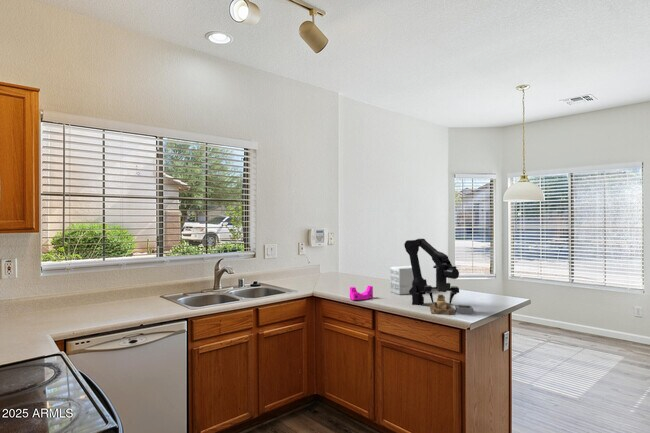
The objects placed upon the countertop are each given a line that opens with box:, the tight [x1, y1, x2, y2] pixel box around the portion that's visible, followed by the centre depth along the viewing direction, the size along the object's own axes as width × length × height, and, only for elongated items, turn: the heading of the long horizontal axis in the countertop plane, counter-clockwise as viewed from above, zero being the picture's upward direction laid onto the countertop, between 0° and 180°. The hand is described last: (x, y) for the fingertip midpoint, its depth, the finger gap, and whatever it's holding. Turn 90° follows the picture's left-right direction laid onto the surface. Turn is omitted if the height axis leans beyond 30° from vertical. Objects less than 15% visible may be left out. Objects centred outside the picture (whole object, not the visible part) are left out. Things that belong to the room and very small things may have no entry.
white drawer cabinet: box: [389, 264, 414, 296], centre depth 275 cm, size 17×13×18 cm
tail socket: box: [454, 304, 474, 315], centre depth 216 cm, size 8×8×3 cm
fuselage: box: [436, 293, 447, 310], centre depth 220 cm, size 4×12×7 cm, turn 167°
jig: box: [429, 301, 455, 316], centre depth 220 cm, size 12×20×2 cm, turn 167°
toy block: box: [349, 285, 374, 301], centre depth 254 cm, size 15×6×8 cm, turn 110°
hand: (441, 304), depth 220 cm, fingers open, 9 cm apart
